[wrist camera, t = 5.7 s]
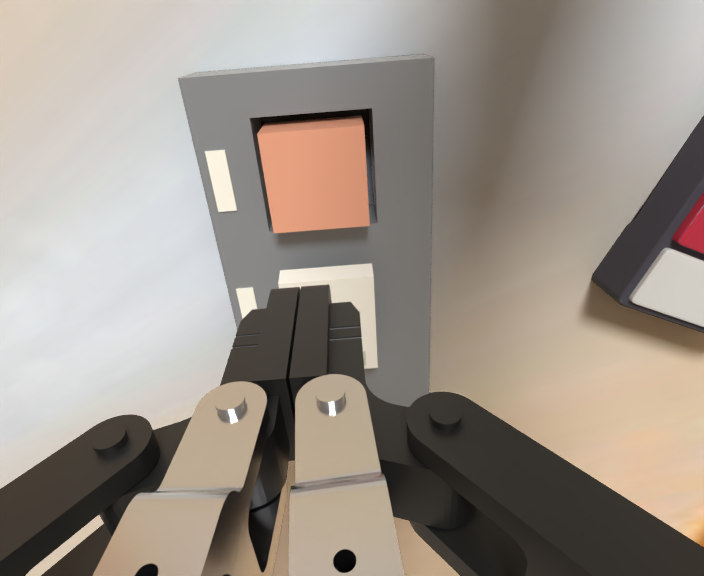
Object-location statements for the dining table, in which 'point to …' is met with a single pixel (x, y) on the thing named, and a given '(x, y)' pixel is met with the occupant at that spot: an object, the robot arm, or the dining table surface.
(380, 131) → the panel
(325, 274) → the white slab
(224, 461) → the robot arm
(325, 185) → the push button
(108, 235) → the dining table surface
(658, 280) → the calculator
